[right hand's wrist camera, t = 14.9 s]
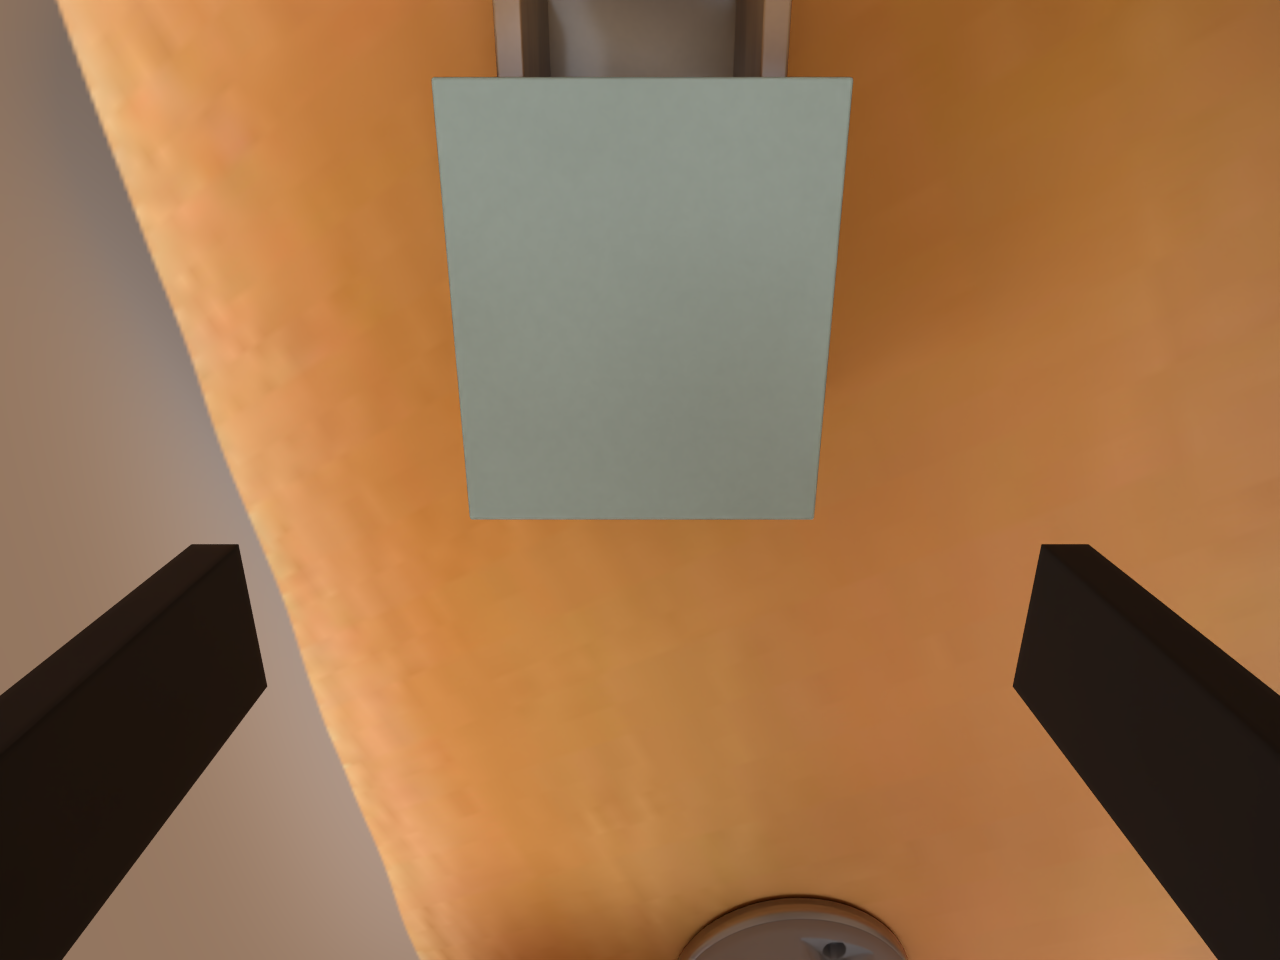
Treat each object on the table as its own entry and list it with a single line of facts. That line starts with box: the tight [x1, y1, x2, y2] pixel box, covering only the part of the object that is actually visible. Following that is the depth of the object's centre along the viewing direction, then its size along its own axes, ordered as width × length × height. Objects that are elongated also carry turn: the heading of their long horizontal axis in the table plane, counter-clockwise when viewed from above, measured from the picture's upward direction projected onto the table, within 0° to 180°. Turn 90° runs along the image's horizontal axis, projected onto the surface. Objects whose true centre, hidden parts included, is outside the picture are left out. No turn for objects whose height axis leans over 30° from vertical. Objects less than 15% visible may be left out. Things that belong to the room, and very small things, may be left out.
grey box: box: [432, 77, 853, 519], centre depth 29 cm, size 13×12×11 cm
